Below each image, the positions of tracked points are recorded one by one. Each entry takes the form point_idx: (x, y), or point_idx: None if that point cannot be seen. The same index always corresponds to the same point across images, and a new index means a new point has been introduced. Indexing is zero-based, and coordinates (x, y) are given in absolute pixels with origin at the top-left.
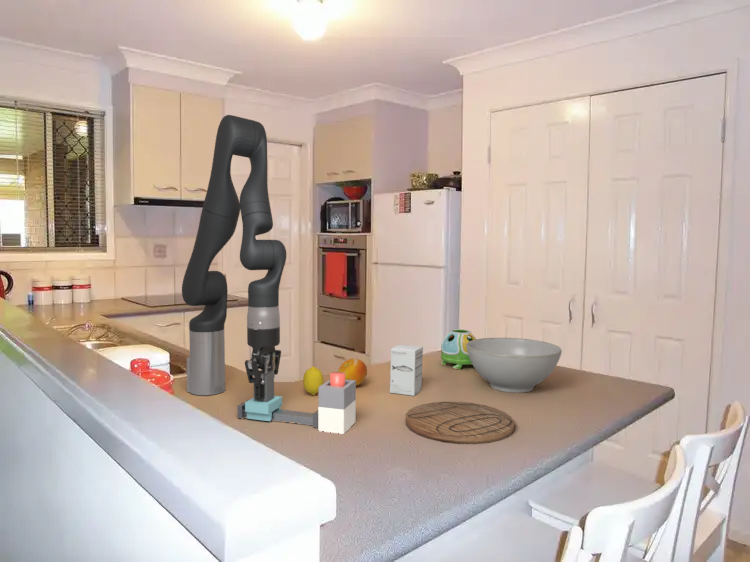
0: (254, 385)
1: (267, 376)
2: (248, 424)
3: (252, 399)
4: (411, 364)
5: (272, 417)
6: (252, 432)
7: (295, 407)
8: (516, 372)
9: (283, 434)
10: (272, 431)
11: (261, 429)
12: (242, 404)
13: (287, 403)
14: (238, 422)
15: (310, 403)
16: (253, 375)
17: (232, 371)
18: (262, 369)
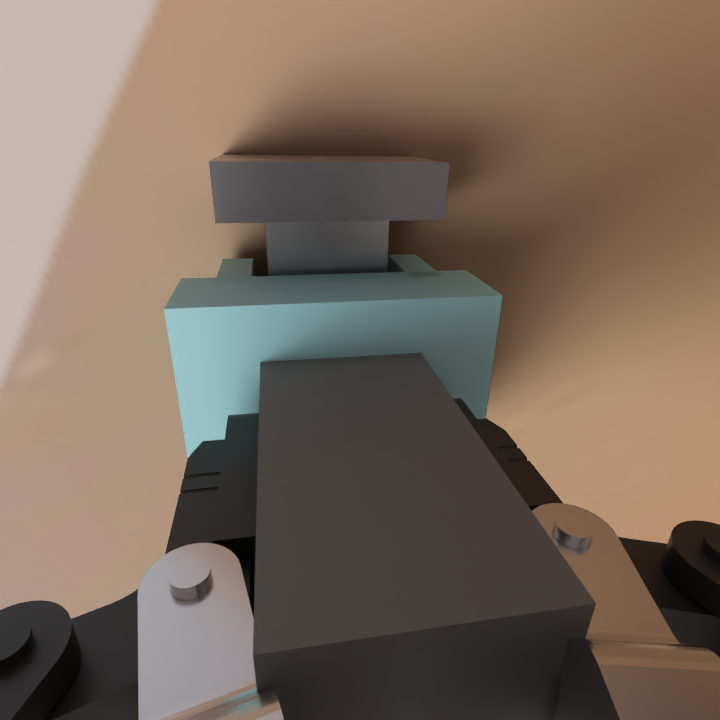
0: (259, 481)
1: None
2: (144, 318)
3: (295, 327)
4: None
5: None
6: (13, 432)
7: (586, 421)
8: None
9: (99, 592)
10: (108, 524)
11: (102, 452)
12: (262, 199)
13: (666, 334)
14: (143, 215)
15: (671, 459)
16: (141, 701)
17: None
18: (575, 670)
